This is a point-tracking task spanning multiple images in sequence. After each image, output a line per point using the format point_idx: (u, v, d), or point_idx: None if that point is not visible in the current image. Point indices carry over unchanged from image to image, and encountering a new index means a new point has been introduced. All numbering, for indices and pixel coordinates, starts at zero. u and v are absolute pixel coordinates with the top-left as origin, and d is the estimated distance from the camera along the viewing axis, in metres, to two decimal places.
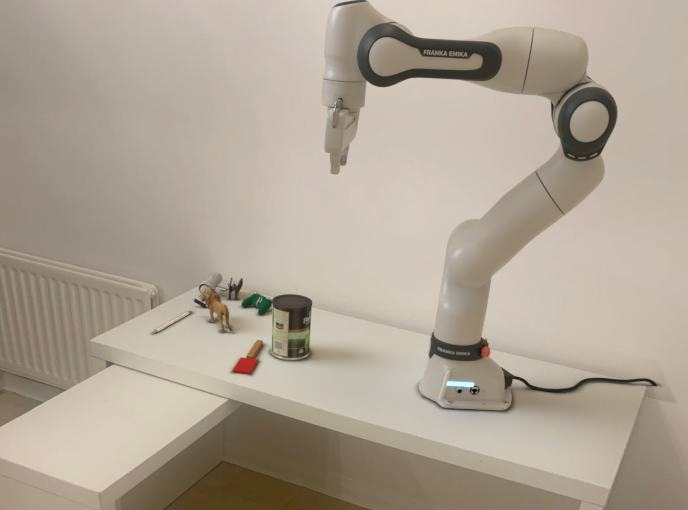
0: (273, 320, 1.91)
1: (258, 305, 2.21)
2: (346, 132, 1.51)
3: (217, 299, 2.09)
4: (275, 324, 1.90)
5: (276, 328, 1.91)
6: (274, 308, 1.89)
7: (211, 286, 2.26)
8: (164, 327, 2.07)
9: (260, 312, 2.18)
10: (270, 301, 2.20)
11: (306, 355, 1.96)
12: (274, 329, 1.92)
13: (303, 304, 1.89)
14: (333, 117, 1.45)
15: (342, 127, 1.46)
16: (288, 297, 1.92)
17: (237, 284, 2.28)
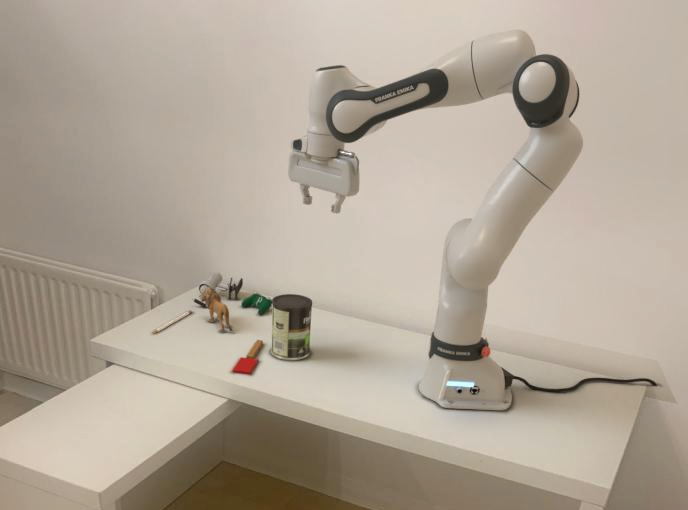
0: (273, 320, 1.91)
1: (258, 305, 2.21)
2: None
3: (217, 299, 2.09)
4: (275, 324, 1.90)
5: (276, 328, 1.91)
6: (274, 308, 1.89)
7: (211, 286, 2.26)
8: (164, 327, 2.07)
9: (260, 312, 2.18)
10: (270, 301, 2.20)
11: (306, 355, 1.96)
12: (274, 329, 1.92)
13: (303, 304, 1.89)
14: (357, 166, 1.69)
15: None
16: (288, 297, 1.92)
17: (237, 284, 2.28)
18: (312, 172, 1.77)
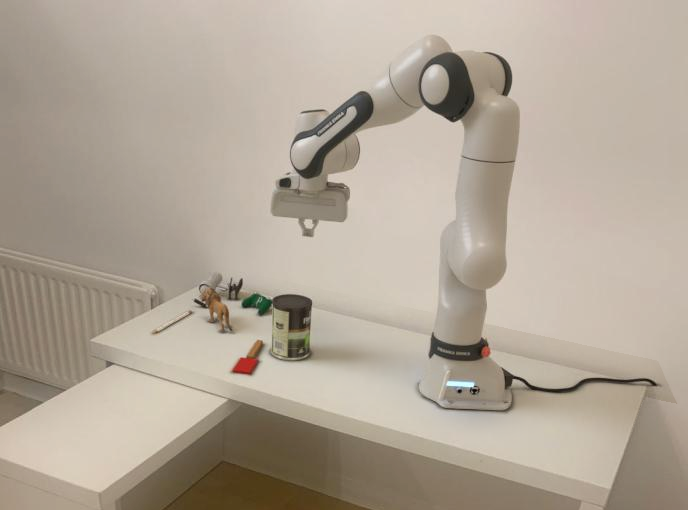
0: (273, 320, 1.91)
1: (258, 305, 2.21)
2: None
3: (217, 299, 2.09)
4: (275, 324, 1.90)
5: (276, 328, 1.91)
6: (274, 308, 1.89)
7: (211, 286, 2.26)
8: (164, 327, 2.07)
9: (260, 312, 2.18)
10: (270, 301, 2.20)
11: (306, 355, 1.96)
12: (274, 329, 1.92)
13: (303, 304, 1.89)
14: (349, 194, 1.91)
15: None
16: (288, 297, 1.92)
17: (237, 284, 2.28)
18: (300, 205, 1.93)
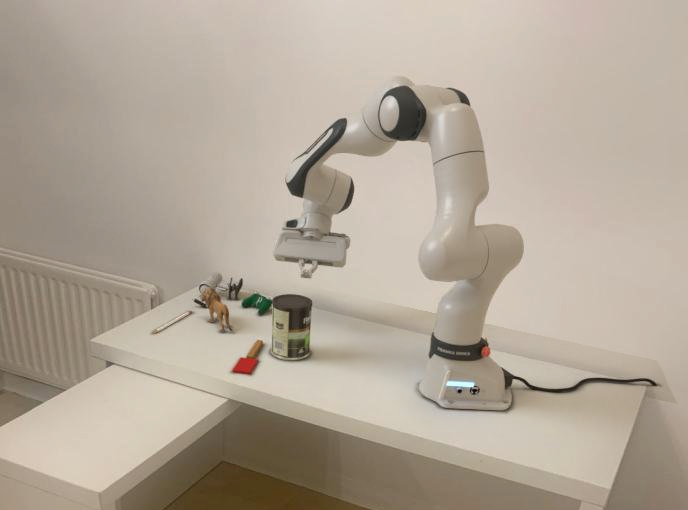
0: (273, 320, 1.91)
1: (258, 305, 2.21)
2: None
3: (217, 299, 2.09)
4: (275, 324, 1.90)
5: (276, 328, 1.91)
6: (274, 308, 1.89)
7: (211, 286, 2.26)
8: (164, 327, 2.08)
9: (260, 312, 2.18)
10: (270, 301, 2.20)
11: (306, 355, 1.96)
12: (274, 329, 1.92)
13: (303, 304, 1.89)
14: (349, 243, 2.04)
15: None
16: (288, 297, 1.92)
17: (237, 284, 2.28)
18: (303, 246, 2.04)
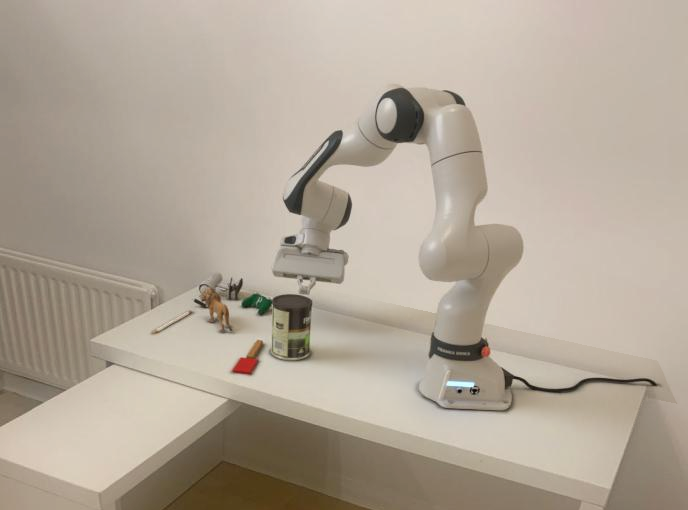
0: (273, 320, 1.91)
1: (258, 305, 2.21)
2: None
3: (217, 299, 2.09)
4: (275, 324, 1.90)
5: (276, 328, 1.91)
6: (274, 308, 1.89)
7: (211, 286, 2.26)
8: (164, 327, 2.07)
9: (260, 312, 2.18)
10: (270, 301, 2.20)
11: (306, 355, 1.96)
12: (274, 329, 1.92)
13: (303, 304, 1.89)
14: (347, 259, 2.04)
15: None
16: (288, 297, 1.92)
17: (237, 284, 2.28)
18: (301, 262, 2.04)
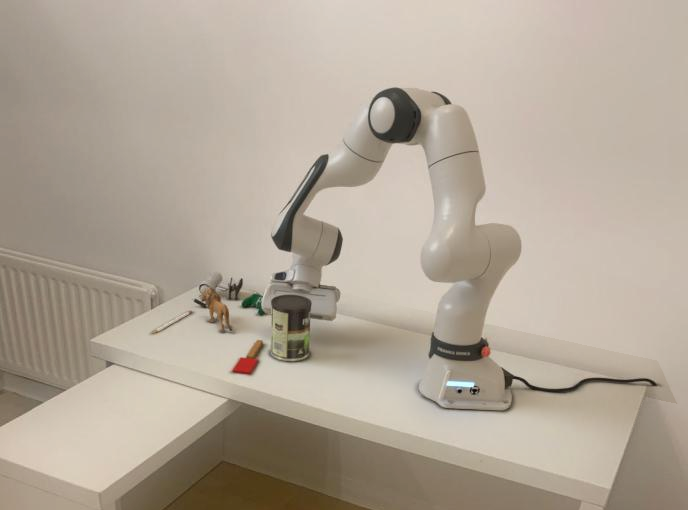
0: (272, 321, 1.90)
1: (258, 305, 2.21)
2: None
3: (217, 299, 2.09)
4: (274, 325, 1.90)
5: (275, 329, 1.90)
6: (273, 309, 1.88)
7: (211, 286, 2.26)
8: (164, 327, 2.08)
9: (260, 312, 2.18)
10: None
11: (305, 356, 1.95)
12: (273, 330, 1.91)
13: (302, 305, 1.88)
14: (339, 296, 1.99)
15: None
16: (287, 298, 1.91)
17: (237, 284, 2.28)
18: None
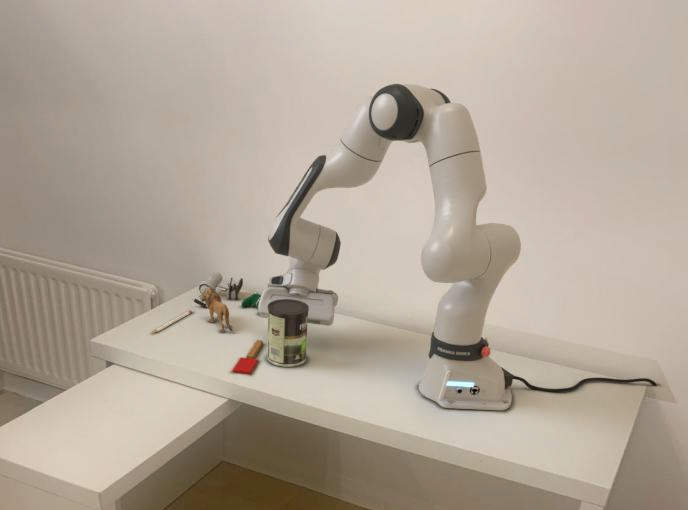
0: (269, 326, 1.87)
1: None
2: None
3: (217, 299, 2.09)
4: (271, 330, 1.87)
5: (272, 334, 1.87)
6: (270, 314, 1.85)
7: (211, 286, 2.26)
8: (164, 327, 2.08)
9: None
10: None
11: (303, 361, 1.92)
12: (270, 335, 1.88)
13: (299, 310, 1.85)
14: (337, 300, 1.96)
15: None
16: (284, 302, 1.88)
17: (237, 284, 2.28)
18: None
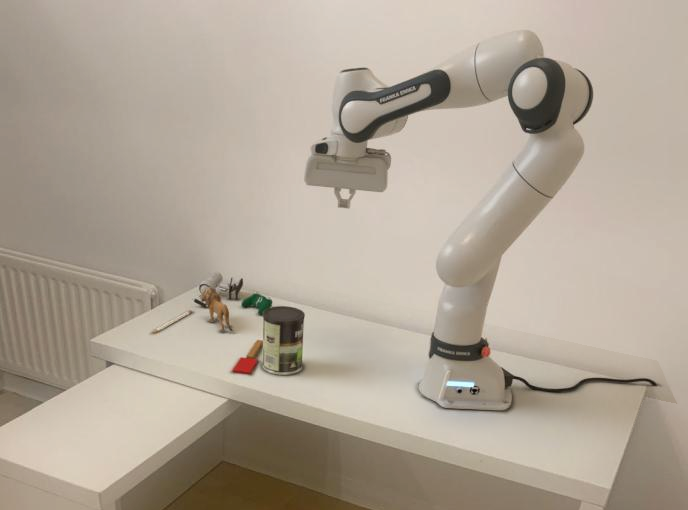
0: (264, 333, 1.84)
1: (258, 305, 2.21)
2: None
3: (217, 299, 2.09)
4: (266, 337, 1.83)
5: (267, 342, 1.83)
6: (265, 321, 1.81)
7: (211, 286, 2.26)
8: (164, 327, 2.08)
9: (260, 312, 2.18)
10: (270, 301, 2.20)
11: (298, 369, 1.88)
12: (265, 343, 1.84)
13: (295, 317, 1.81)
14: (390, 162, 1.77)
15: None
16: (279, 309, 1.85)
17: (237, 284, 2.28)
18: (337, 173, 1.79)
